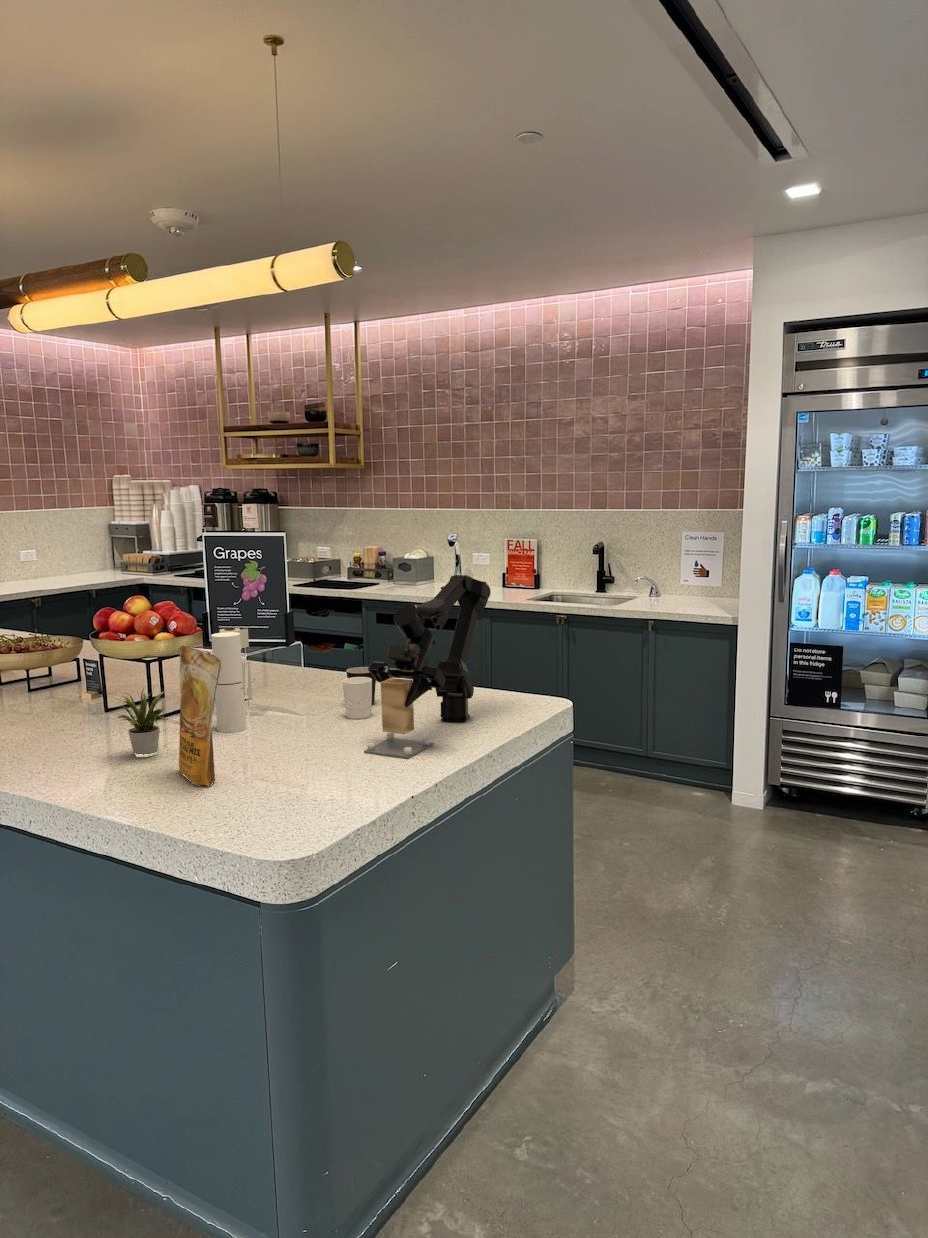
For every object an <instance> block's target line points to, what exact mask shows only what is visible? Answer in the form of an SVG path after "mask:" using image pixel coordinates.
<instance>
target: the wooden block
mask: <svg viewBox="0 0 928 1238" xmlns="http://www.w3.org/2000/svg"><path fill="white" fill-rule="evenodd" d="M412 683H413V679H407V678H396V677H394V678H390V679H387V680H385V681H382V682H381V683H380V698H381V699H380V701H381V722H382V723H381V724H382V725H381V726H382V733H383V732H384V733H394V734H397V735H398V734H399V735H406V734H408V733H410V732H412V731H414V730H415V716H414V715H415V711H414V702H413V703H412V704H411V705H410V706H408V707H406V706H405V702H406V698H407V696H408V693H409V691H410V689H411V686H412Z"/></svg>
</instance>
